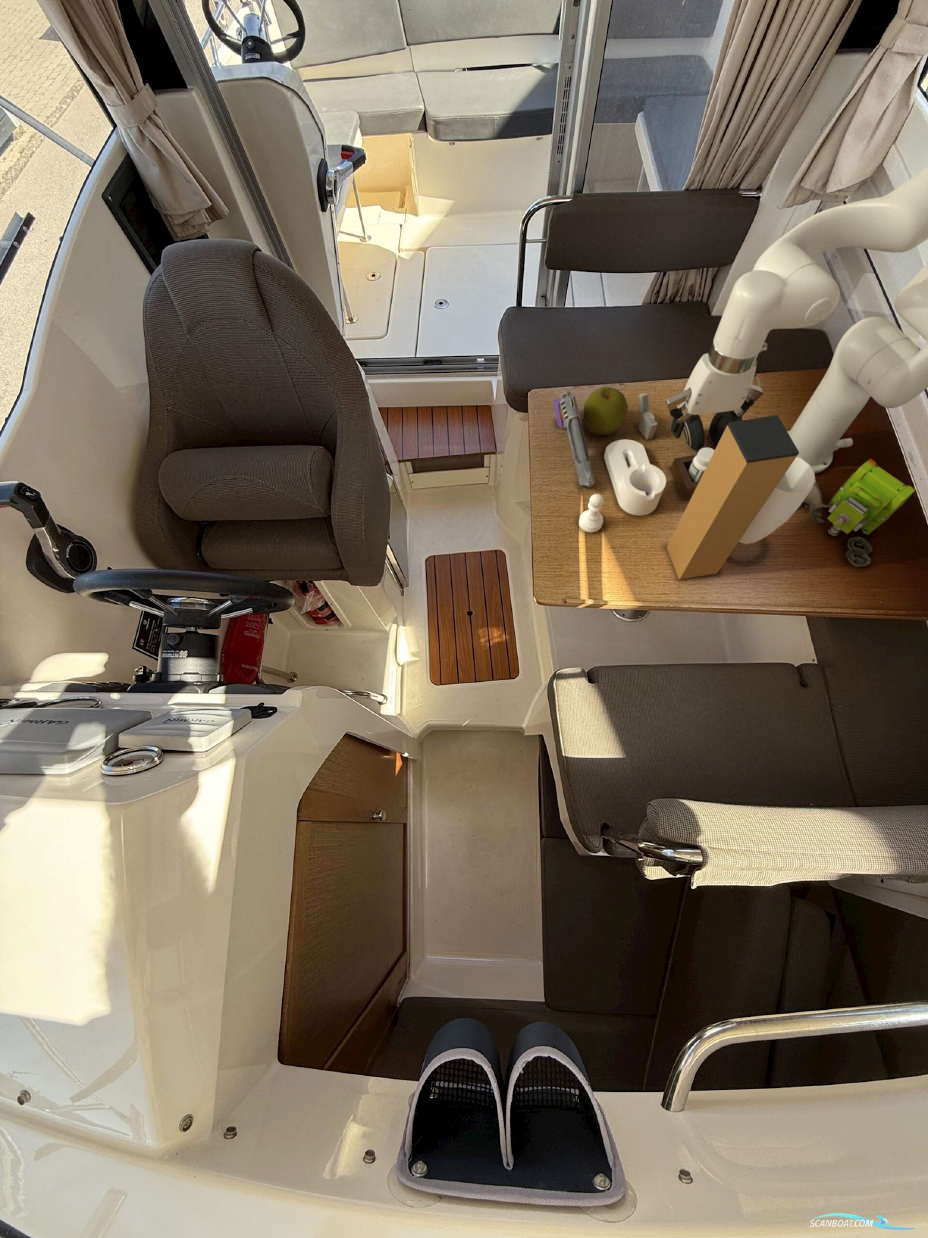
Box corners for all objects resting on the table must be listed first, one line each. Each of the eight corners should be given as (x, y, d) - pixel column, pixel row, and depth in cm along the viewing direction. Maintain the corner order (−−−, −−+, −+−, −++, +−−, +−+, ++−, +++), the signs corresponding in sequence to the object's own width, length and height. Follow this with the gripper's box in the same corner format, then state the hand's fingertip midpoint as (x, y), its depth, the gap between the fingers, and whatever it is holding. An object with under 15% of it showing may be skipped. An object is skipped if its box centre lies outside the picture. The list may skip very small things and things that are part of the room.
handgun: (572, 495, 139) (584, 487, 124) (550, 402, 137) (559, 383, 122) (586, 491, 139) (599, 483, 124) (564, 399, 136) (575, 379, 121)
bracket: (662, 512, 124) (671, 492, 118) (623, 517, 124) (629, 497, 118) (638, 444, 133) (645, 422, 127) (601, 449, 133) (606, 427, 127)
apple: (587, 446, 133) (595, 409, 124) (574, 417, 138) (581, 379, 128) (628, 437, 134) (639, 400, 124) (613, 409, 138) (623, 371, 129)
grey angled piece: (653, 437, 134) (662, 411, 127) (646, 439, 134) (655, 413, 126) (637, 417, 137) (646, 390, 130) (631, 419, 137) (639, 392, 130)
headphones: (741, 452, 131) (781, 380, 113) (678, 460, 130) (708, 389, 113) (728, 425, 135) (765, 351, 117) (667, 432, 134) (694, 360, 117)
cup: (733, 570, 117) (781, 504, 97) (703, 533, 121) (744, 462, 102) (775, 552, 118) (831, 483, 99) (745, 516, 123) (792, 443, 104)
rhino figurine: (805, 531, 120) (820, 514, 115) (780, 481, 126) (793, 462, 121) (824, 529, 120) (839, 511, 115) (798, 479, 126) (812, 460, 121)
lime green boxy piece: (828, 484, 125) (785, 517, 121) (887, 446, 110) (840, 483, 106) (869, 530, 123) (827, 565, 120) (934, 498, 108) (888, 537, 105)
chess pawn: (591, 510, 125) (599, 483, 117) (606, 525, 123) (615, 498, 115) (573, 521, 124) (579, 494, 116) (588, 536, 122) (595, 510, 114)
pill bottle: (708, 476, 128) (722, 449, 121) (703, 491, 126) (716, 465, 119) (687, 470, 129) (699, 443, 122) (682, 485, 127) (694, 458, 120)
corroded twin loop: (841, 564, 116) (844, 561, 115) (845, 535, 120) (848, 532, 119) (867, 572, 115) (871, 569, 114) (871, 543, 119) (874, 540, 118)
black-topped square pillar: (703, 541, 120) (777, 414, 89) (717, 573, 117) (799, 452, 86) (666, 547, 120) (728, 422, 89) (679, 579, 116) (748, 460, 85)
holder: (707, 463, 130) (712, 452, 127) (721, 492, 126) (727, 482, 123) (669, 468, 129) (674, 457, 126) (682, 499, 125) (687, 488, 122)
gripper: (776, 332, 96) (738, 410, 111) (674, 344, 96) (650, 421, 111) (793, 362, 93) (751, 439, 108) (687, 375, 93) (660, 450, 108)
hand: (700, 430), depth 110 cm, fingers open, 9 cm apart
